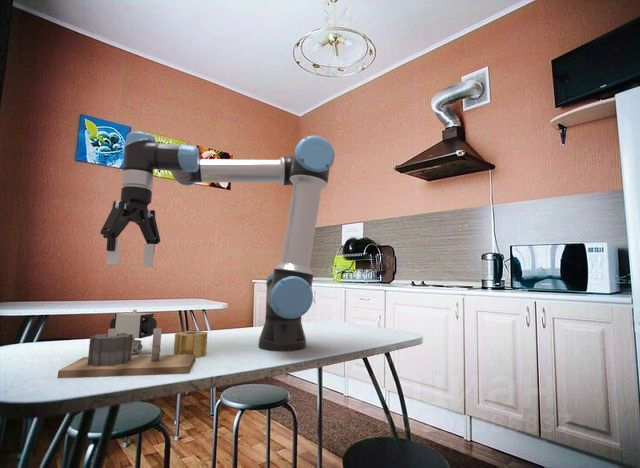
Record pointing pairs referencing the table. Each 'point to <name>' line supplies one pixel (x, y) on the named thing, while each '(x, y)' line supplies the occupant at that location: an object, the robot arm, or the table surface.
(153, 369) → the gear board
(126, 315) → the pneumatic valve
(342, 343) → the table surface
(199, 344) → the brass gear
